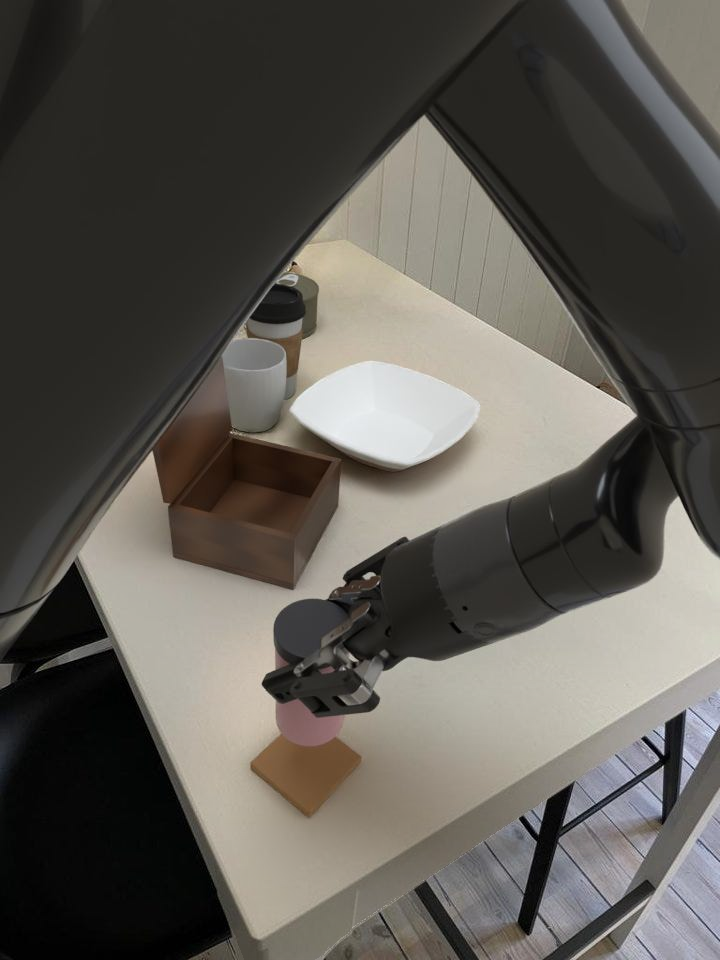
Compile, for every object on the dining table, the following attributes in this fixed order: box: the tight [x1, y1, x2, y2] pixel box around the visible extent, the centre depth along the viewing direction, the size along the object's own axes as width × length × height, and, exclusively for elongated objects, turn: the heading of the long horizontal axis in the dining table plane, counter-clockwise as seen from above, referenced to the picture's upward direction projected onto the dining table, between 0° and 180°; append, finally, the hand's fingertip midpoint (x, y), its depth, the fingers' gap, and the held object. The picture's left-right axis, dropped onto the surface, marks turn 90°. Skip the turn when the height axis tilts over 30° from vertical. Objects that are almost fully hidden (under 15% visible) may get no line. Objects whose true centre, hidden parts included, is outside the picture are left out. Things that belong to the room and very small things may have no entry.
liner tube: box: [272, 598, 350, 746], centre depth 54 cm, size 5×5×10 cm
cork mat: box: [249, 733, 362, 819], centre depth 61 cm, size 6×6×1 cm
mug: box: [222, 337, 287, 433], centre depth 98 cm, size 13×9×10 cm
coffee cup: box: [245, 284, 306, 401], centre depth 104 cm, size 8×8×15 cm
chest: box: [167, 432, 342, 590], centre depth 82 cm, size 14×15×7 cm
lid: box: [151, 356, 233, 505], centre depth 77 cm, size 14×15×5 cm
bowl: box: [289, 359, 481, 473], centre depth 98 cm, size 22×22×5 cm
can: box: [245, 271, 320, 340], centre depth 123 cm, size 12×12×7 cm
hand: (288, 656), depth 54 cm, fingers closed on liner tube, 5 cm apart
